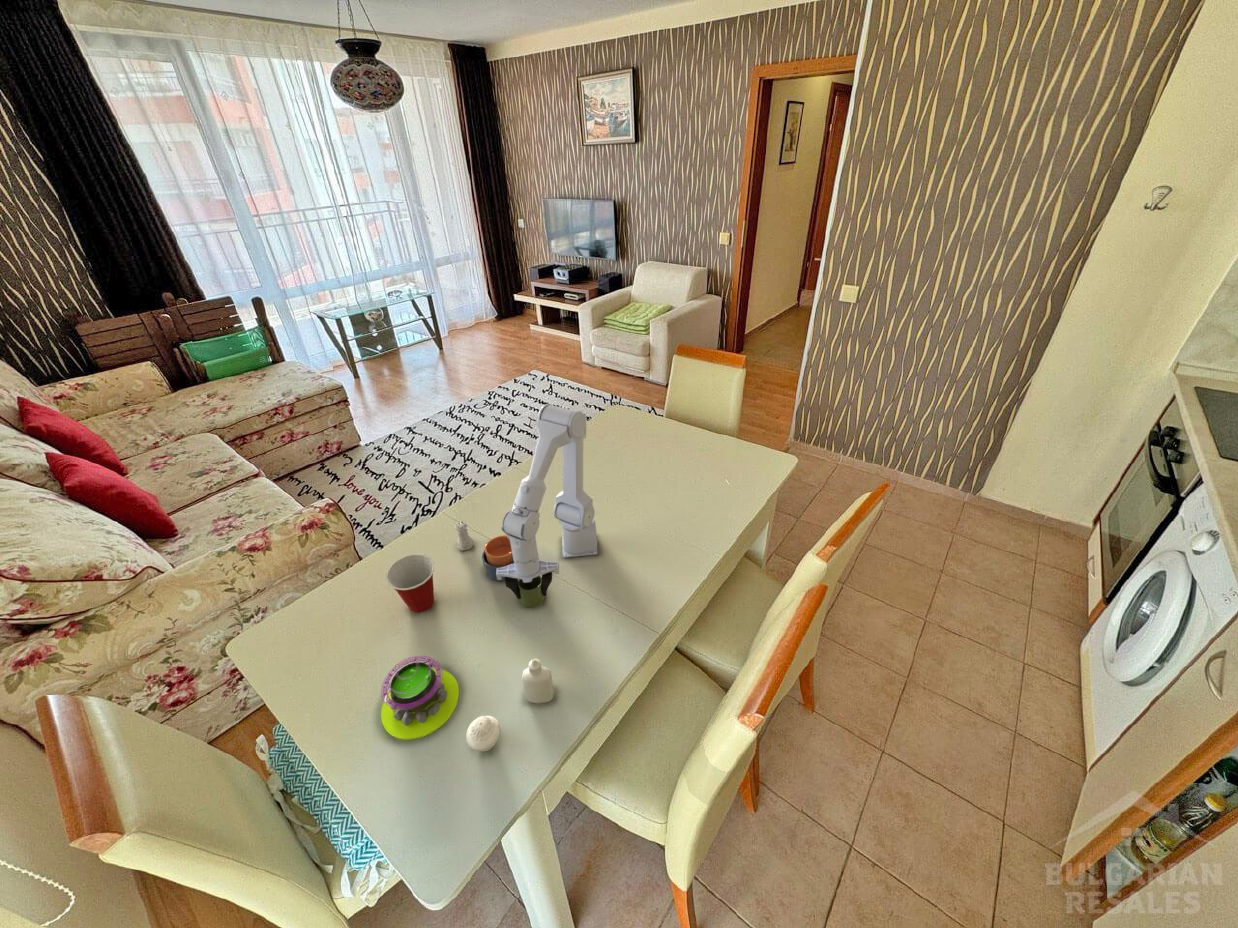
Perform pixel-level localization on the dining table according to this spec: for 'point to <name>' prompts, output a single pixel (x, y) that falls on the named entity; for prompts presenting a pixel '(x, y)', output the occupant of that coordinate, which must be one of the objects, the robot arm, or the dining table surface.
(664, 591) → the dining table surface
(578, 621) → the dining table surface
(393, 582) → the plastic cup
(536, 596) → the olive cup
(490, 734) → the white rounded egg shape
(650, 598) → the dining table surface
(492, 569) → the stack big
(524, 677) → the eye dropper bottle
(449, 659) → the dining table surface
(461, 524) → the rook chess piece
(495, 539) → the stack mid
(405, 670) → the toy cauldron
